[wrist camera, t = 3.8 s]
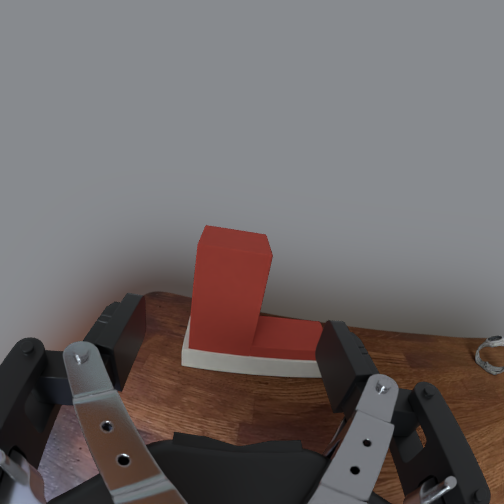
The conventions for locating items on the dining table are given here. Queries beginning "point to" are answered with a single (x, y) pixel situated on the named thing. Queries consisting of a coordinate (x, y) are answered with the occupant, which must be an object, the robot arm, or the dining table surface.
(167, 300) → the dining table surface
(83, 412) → the robot arm
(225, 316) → the block
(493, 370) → the wristwatch
